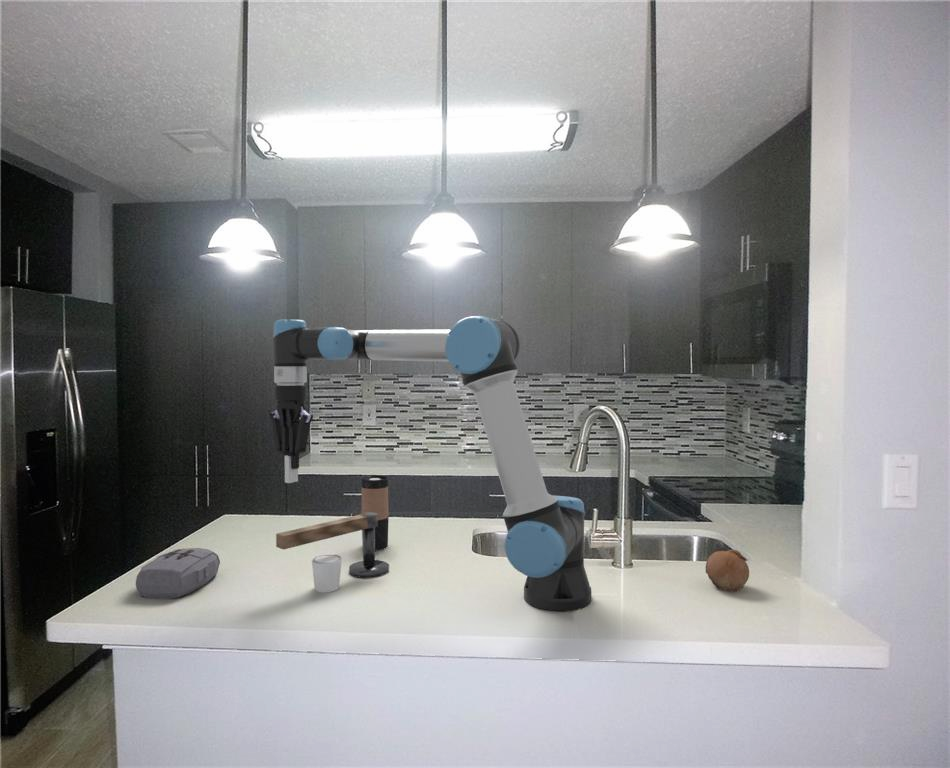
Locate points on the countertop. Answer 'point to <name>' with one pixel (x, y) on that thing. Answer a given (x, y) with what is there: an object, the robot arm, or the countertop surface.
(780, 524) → the countertop surface
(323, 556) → the white cup
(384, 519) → the travel mug
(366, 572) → the swing post
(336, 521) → the swing arm
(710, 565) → the onion
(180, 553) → the soft grey pack
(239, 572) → the countertop surface
